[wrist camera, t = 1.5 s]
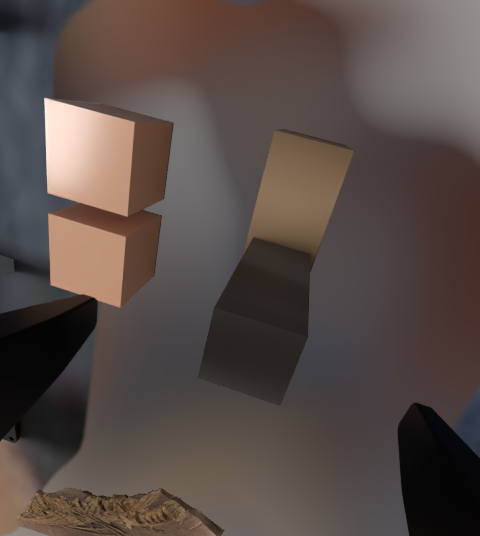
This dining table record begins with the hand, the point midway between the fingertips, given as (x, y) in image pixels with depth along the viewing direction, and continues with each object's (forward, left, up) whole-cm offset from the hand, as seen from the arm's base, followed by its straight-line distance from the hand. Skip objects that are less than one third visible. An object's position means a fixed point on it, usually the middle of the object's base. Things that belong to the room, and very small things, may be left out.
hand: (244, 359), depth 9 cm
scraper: (0, 0, -10) cm, 10 cm away
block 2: (-2, +9, -10) cm, 14 cm away
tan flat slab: (-34, +9, -10) cm, 37 cm away
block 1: (+3, +9, -10) cm, 14 cm away
